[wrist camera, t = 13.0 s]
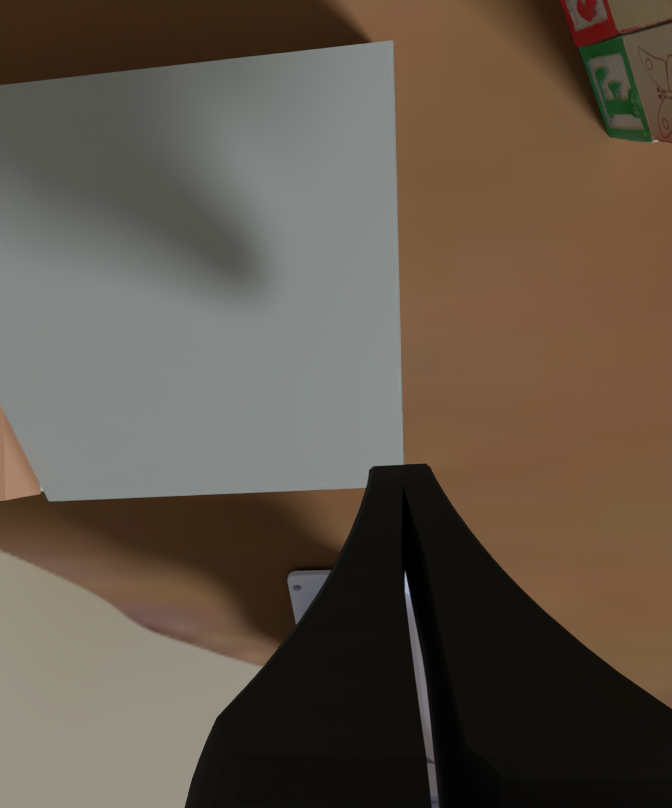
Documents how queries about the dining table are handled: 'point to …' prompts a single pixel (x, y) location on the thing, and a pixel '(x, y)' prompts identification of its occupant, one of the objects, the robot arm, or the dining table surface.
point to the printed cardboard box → (627, 63)
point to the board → (203, 275)
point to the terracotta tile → (14, 466)
